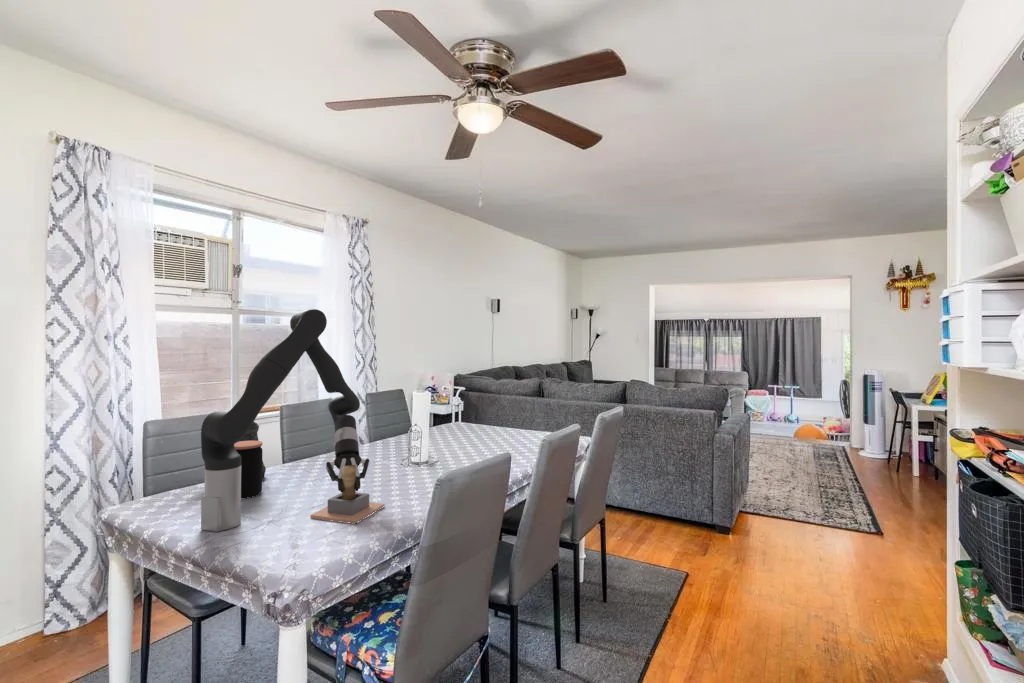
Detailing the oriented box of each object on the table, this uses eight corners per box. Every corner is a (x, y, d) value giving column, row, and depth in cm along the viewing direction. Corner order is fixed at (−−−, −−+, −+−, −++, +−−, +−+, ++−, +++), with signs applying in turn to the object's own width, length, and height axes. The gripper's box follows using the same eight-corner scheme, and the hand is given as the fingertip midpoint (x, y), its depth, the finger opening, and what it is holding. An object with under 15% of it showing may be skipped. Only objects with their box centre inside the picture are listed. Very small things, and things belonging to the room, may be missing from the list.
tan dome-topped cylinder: (350, 507, 153) (350, 468, 153) (339, 505, 154) (339, 467, 154) (358, 503, 157) (358, 465, 157) (347, 501, 158) (347, 464, 158)
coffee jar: (268, 490, 177) (268, 440, 177) (249, 500, 167) (250, 447, 167) (240, 489, 178) (241, 440, 178) (220, 498, 168) (220, 446, 168)
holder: (355, 524, 146) (355, 507, 146) (310, 518, 150) (310, 501, 150) (384, 507, 161) (384, 491, 161) (342, 502, 166) (342, 487, 166)
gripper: (324, 439, 160) (325, 486, 149) (369, 436, 165) (374, 481, 154) (323, 452, 165) (324, 499, 154) (367, 448, 170) (371, 493, 159)
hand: (349, 490), depth 154 cm, fingers closed on tan dome-topped cylinder, 4 cm apart
